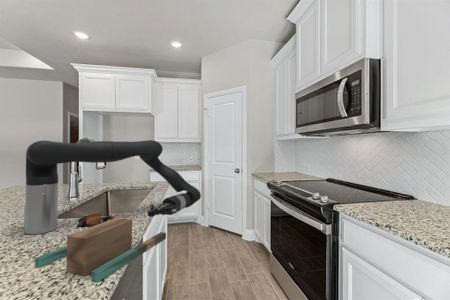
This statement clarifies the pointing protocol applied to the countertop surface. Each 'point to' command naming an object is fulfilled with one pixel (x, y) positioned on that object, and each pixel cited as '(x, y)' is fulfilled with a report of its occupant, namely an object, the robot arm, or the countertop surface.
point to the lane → (109, 266)
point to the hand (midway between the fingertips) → (149, 214)
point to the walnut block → (98, 245)
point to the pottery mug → (92, 220)
